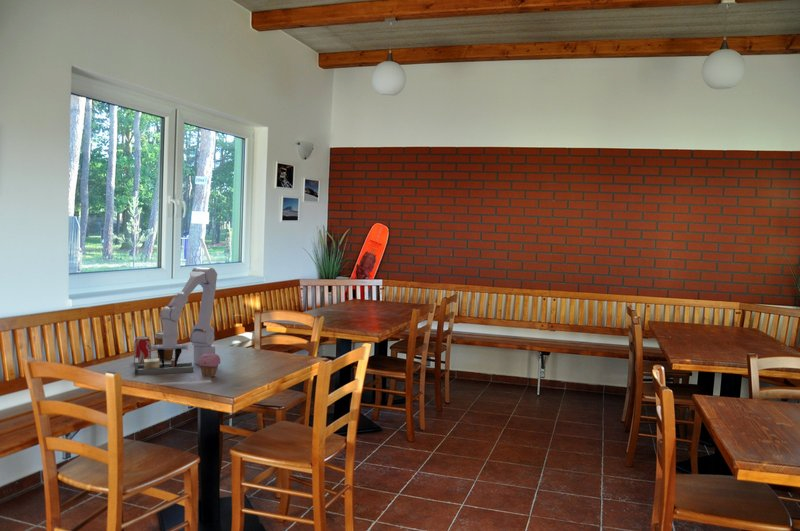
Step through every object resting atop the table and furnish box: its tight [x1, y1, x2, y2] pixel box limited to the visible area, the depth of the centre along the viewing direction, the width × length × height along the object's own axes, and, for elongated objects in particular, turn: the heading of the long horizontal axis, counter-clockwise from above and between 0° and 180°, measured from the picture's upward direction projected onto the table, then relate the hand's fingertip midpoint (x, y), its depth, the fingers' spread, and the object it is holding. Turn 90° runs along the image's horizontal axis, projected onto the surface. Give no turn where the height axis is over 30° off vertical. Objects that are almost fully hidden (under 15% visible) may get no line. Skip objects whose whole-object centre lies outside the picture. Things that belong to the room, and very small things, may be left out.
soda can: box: [133, 336, 152, 365], centre depth 296 cm, size 7×7×12 cm
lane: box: [134, 358, 194, 376], centre depth 280 cm, size 23×10×6 cm, turn 112°
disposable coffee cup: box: [154, 331, 174, 360], centre depth 309 cm, size 10×10×12 cm
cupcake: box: [198, 353, 221, 378], centre depth 276 cm, size 9×9×10 cm
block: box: [143, 358, 175, 369], centre depth 280 cm, size 12×6×4 cm, turn 112°
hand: (169, 366), depth 281 cm, fingers closed on block, 4 cm apart
